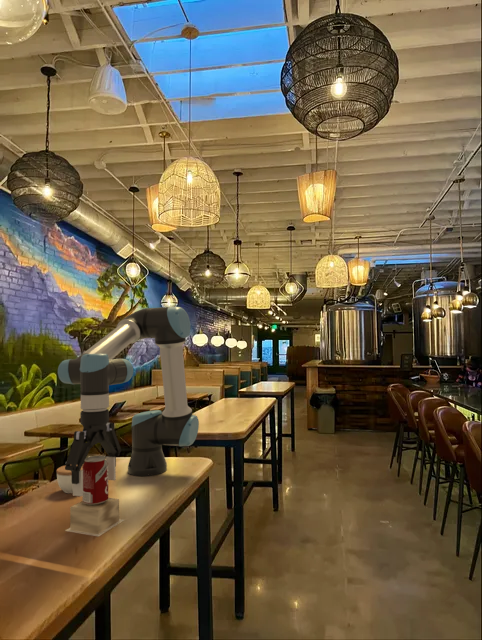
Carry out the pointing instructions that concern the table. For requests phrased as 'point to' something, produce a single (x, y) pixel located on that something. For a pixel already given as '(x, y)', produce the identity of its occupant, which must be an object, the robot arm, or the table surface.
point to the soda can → (95, 480)
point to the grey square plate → (96, 534)
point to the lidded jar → (65, 479)
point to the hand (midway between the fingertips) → (95, 487)
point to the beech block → (94, 516)
